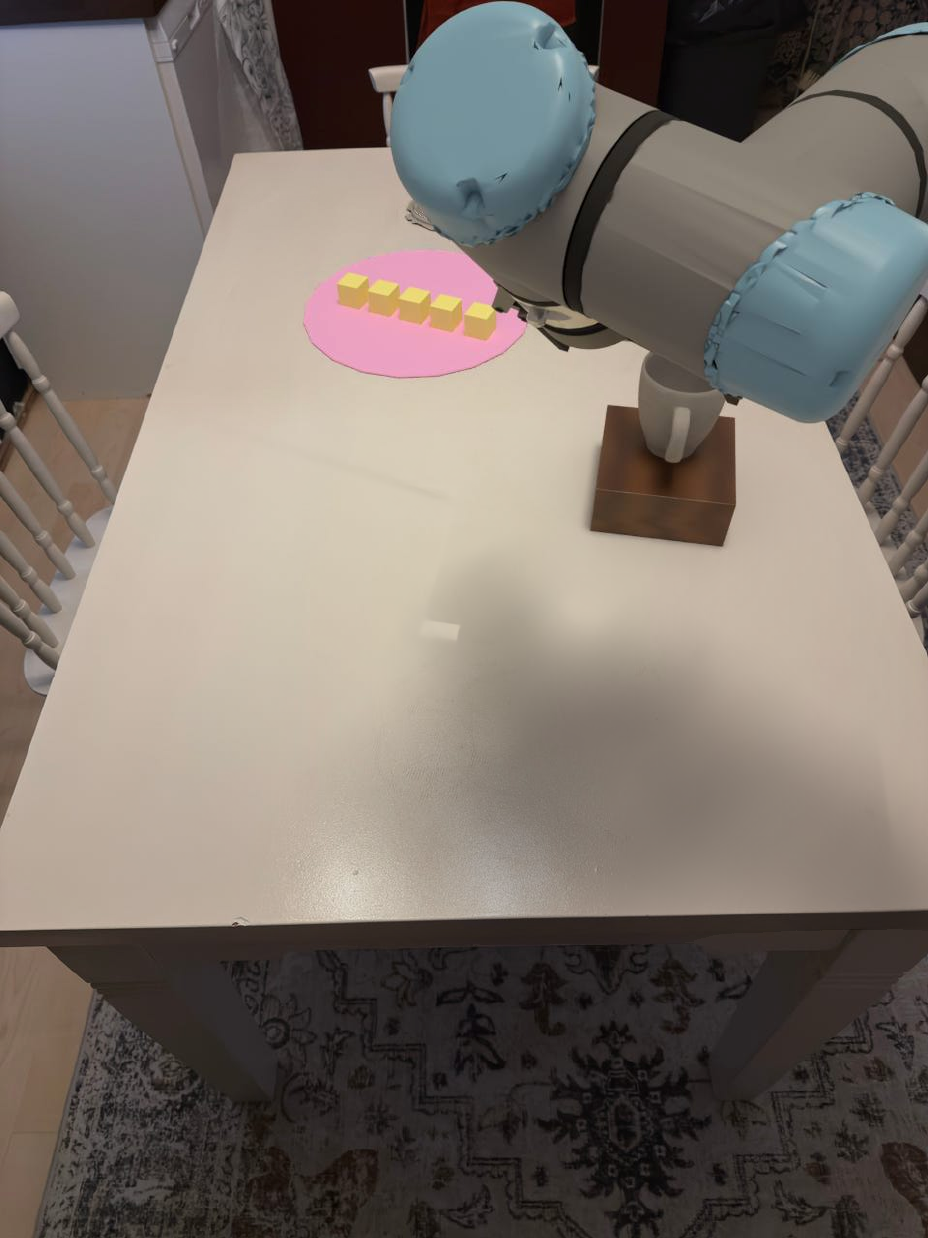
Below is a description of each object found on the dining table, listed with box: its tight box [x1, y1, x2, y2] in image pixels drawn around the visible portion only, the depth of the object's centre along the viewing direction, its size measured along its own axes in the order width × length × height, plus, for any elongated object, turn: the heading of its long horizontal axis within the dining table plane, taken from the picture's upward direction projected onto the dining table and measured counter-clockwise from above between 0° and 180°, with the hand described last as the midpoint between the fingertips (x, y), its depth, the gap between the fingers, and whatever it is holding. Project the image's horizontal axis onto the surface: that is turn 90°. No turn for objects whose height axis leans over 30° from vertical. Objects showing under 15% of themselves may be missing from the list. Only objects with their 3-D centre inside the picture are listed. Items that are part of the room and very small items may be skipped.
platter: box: [303, 249, 529, 379], centre depth 116 cm, size 32×32×3 cm
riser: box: [589, 404, 737, 547], centre depth 91 cm, size 14×14×6 cm
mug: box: [637, 351, 727, 463], centre depth 84 cm, size 12×9×10 cm
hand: (651, 359), depth 62 cm, fingers open, 13 cm apart
